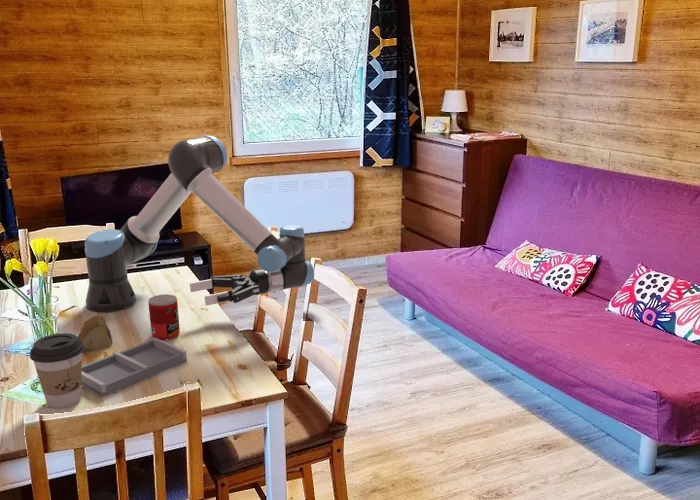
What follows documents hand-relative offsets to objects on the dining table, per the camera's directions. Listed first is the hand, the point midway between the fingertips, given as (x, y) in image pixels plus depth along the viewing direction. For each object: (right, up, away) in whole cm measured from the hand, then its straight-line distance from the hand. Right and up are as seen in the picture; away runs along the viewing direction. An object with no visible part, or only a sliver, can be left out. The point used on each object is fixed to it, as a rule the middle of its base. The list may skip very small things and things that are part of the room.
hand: (197, 294), depth 188 cm
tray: (-11, -18, -23) cm, 31 cm away
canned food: (-9, -12, -2) cm, 15 cm away
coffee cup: (-22, -22, -38) cm, 49 cm away
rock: (-26, -14, -10) cm, 32 cm away
